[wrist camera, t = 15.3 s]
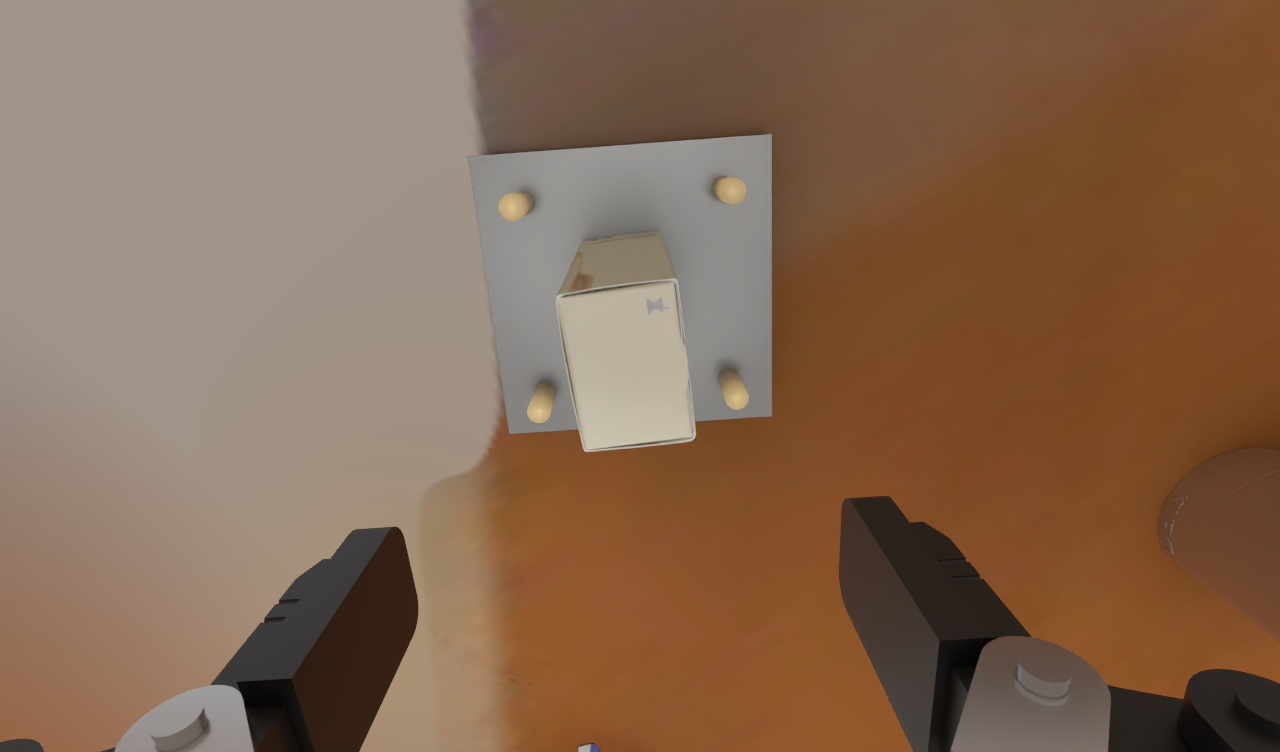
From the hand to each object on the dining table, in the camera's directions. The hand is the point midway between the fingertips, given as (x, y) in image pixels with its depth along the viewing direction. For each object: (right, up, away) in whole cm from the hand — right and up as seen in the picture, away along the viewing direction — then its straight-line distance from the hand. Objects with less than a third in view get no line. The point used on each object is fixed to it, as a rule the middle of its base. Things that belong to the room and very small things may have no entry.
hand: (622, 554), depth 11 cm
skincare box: (0, +8, +22) cm, 23 cm away
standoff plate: (0, +8, +23) cm, 25 cm away
